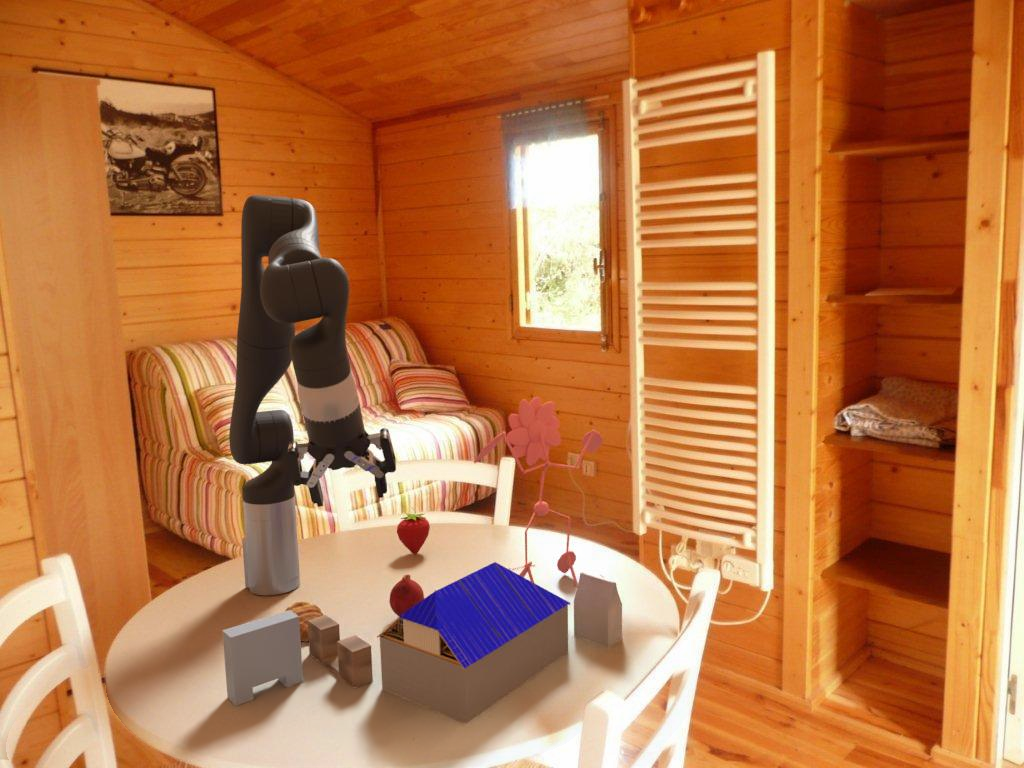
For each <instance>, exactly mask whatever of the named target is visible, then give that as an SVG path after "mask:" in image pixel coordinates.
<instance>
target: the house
mask: <svg viewBox="0 0 1024 768" xmlns="http://www.w3.org/2000/svg"><path fill="white" fill-rule="evenodd" d="M568 605H569V606H570V605H571V602H570V601H568V600H566V599H564V598H562V597H560V596H558V595H557V594H555V593H553V592H551V591H549V590H548V589H545V588H543V586H540V585H538V584H537V583H535V582H534V583H533V582H531V581H530V579H527V578H525V576H524V577H522V576H520V574H518V573H516V572H515V571H513V570H510V568H507V567H505V566H504V565H502V564H500V563H498V562H496V561H493V562H492V563H489V564H488V565H486V566H484V567H481V568H480V569H478V570H476V571H474V572H471V573H470V574H467V575H465V576H463V577H462V578H460V579H458V580H455V581H454V582H451V583H449V584H447V585H445V586H443V587H441V588H439V589H437V590H436V589H435V590H434V591H433V592H432V593H430V594H429V595H428V596H426V597H424V599H423V600H422V601H420V602H419V603H418V604H416V605H415V606H413V607H412V608H411V609H409V610H408V611H406V612H405V613H403V614H402V615H401V616H397V618H395V620H393V621H392V622H391V623H390V624H389V625H388V626H387V627H386V628H385V629H384V630H382V632H380V633H379V635H377V636H376V639H378V638H379V647H380V648H379V649H380V651H379V652H380V667H381V672H380V673H381V689H382V690H384V691H385V692H388V693H391V694H393V695H396V696H397V697H401V698H403V699H404V700H405V699H406V700H407V701H410V702H413V703H415V704H417V705H419V706H422V707H424V708H425V709H429V710H431V711H434V712H436V713H439V714H441V715H443V716H445V717H448V718H450V719H453V720H455V721H458V722H460V723H463V724H465V725H466V724H468V723H469V722H471V721H472V720H474V719H475V718H476V717H478V716H479V715H480V714H482V713H484V712H485V711H487V710H488V709H489V708H490V707H493V705H496V704H497V703H498V702H499V701H501V700H502V699H504V698H505V697H506V696H508V695H510V693H512V692H514V691H515V690H516V689H518V688H519V687H521V686H522V685H524V684H525V683H526V682H528V681H529V680H531V679H532V678H533V677H535V676H537V674H539V673H541V672H542V671H544V670H545V669H546V668H548V667H549V666H551V665H552V664H553V663H555V662H556V661H558V660H559V659H560V658H562V657H564V656H565V655H566V654H567V653H569V613H568V612H569V611H568V610H569V606H568ZM550 664H551V665H550Z"/></svg>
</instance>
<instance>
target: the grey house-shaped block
mask: <svg viewBox="0 0 1024 768" xmlns="http://www.w3.org/2000/svg"><path fill="white" fill-rule="evenodd" d="M577 583H578V585H577V588H576V591H575V595H574V598H573V635H574V636H575V635H576V637H578V638H580V637H581V639H582V640H586V641H588V640H589V642H592V643H594V644H597V645H599V646H602V647H604V648H607V649H609V648H610V647H612V646H614V645H615V644H618V643H619V642H620V641H622V640H623V603H622V600H621V598H620V594H619V591H618V587H617V582H615V581H611V580H610V579H609V580H608V579H606V578H603V577H602V578H601V577H599V576H595V575H592V574H588V573H585V572H580V574H579V578H578V582H577Z"/></svg>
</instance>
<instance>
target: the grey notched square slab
mask: <svg viewBox="0 0 1024 768" xmlns="http://www.w3.org/2000/svg"><path fill="white" fill-rule="evenodd" d="M284 611H285V610H284ZM284 611H283V612H278V613H275V614H272V615H269V616H268V615H267V616H265V617H262V618H259V619H255V620H252V621H249V622H246V623H242V624H239V625H236V626H233V627H229V628H226V629H222V643H223V656H224V668H225V681H226V692H227V695H226V696H227V699H228V700H230V702H231V703H232V704H233V705H234V706H235V707H237V706H239V705H242V704H245V703H248V702H250V701H253V700H254V691H253V690H254V688H256V687H259V686H261V685H264V684H266V683H270V682H273V681H275V680H278V681H279V682H280V683H281V684H283V686H285V688H289V687H292V686H294V685H297V684H299V683H303V682H304V676H303V659H302V644H301V643H302V642H301V640H300V624H299V616H298V615H296V614H295V613H294V612H292V611H291V610H288V611H285V612H284Z"/></svg>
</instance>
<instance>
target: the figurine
mask: <svg viewBox="0 0 1024 768" xmlns="http://www.w3.org/2000/svg"><path fill="white" fill-rule="evenodd" d="M555 411H556V403H555V402H554V401H546V402H545V403H543V404H542V399H541V397H539V396H535V397H533V399H532V400H530V402H529V401H528V400H527V399H526V398H524V399H521V400H520V402H519V405H518V414H517V413H510V414H509V415H508V425H509V427H510V429H511V430H510V431H509V432H508V433H507V432H506V431H501V433H499V434H498V435H496V436H495V437H494V438H493V439H492V440H490V441H489V442H488V443H487V444H486V445H485V446H484V447H483V449H482V450H481V451H480V452H479V453H478V455H477V457H476V458H475V460H474V461H473V463H474V464H476V463H478V462H480V460H483V458H485V456H487V455H488V454H489V453H490V452H491V451H493V449H494V448H495V447H496V446H497V445H498V444H499V443H500V442H501V440H502V439H503V440H504V441H505V442H506V444H507V445H506V446H507V447H508V449H509V450H510V452H511V456H512V458H513V459H514V461H515V463H516V464H517V466H518V468H519V470H520V472H521V473H522V475H525V474H527V473H530V472H533V471H536V470H538V469H541V468H543V467H544V468H543V471H542V472H541V473H542V474H541V478H540V479H541V481H540V488H539V497H538V501H537V502H536V503H535V504H534V506H533V514H532V516H531V518H530V520H529V522H528V524H527V526H526V527H525V528H526V529H525V530H524V550H525V551H524V552H525V553H524V555H525V556H524V557H525V561H524V562H525V563H524V565H523V569H522V568H521V567H522V566H519V567H514V568H513V570H516V568H517V569H522V571H520V573H519V575H520V576H522V577H524V578H525V577H526V575H527V574H528V577H529V581H531V582H533V583H535V581H534V578H533V574H532V570H531V567H534V566H535V565H536V564H533V562H532V561H531V560H530V561H529V562H528V530H529V528H530V525H531V524H532V522H533V521H534V518H535V516H536V515H537V516H539V517H544V516H546V515H547V514H548V513H549V512H550V513H552V514H555V515H558V516H560V517H562V518H567V519H568V520H567V521H568V522H567V533H566V535H567V536H566V551H565V552H564V553H562V554H561V555H560V557H559V559H558V560H557V563H556V565H557V570H558V571H560V572H561V573H563V574H566V573H568V572H569V570H570V572H571V575H572V576H571V577H572V579H573V582H574V586H575V585H576V586H578V583H579V582H578V579H577V576H576V574H575V570H574V567H573V566H574V564H575V562H576V560H577V555H576V554H575V552H574V551H573V550H569V546H570V532H571V530H570V529H571V516H568V515H565V514H563V513H560V512H557V511H555V510H552V509H550V508H549V504H548V503H547V502H546V501H542V499H543V498H542V497H543V492H544V491H543V490H544V485H545V484H544V482H545V479H546V478H545V477H546V473H547V470H548V468H551V466H552V467H553V466H554V467H557V468H558V467H559V468H564V469H571V470H575V471H576V470H577V468H578V467H579V465H580V463H581V462H582V461H581V460H582V459H583V457H584V455H585V453H586V451H587V452H588V453H591V454H593V453H594V452H596V451H597V450H598V449H600V447H602V444H603V435H602V434H601V433H600V432H599V431H597V430H595V429H591V431H588V432H586V433H585V435H584V436H583V437H582V439H581V440H582V441H581V443H582V446H583V449H582V451H581V453H580V455H579V457H578V458H577V461H576V462H575V465H567V464H562V463H556V462H551V461H550V459H549V458H550V457H549V454H550V446H552V447H558V446H560V444H561V443H562V437H561V434H560V431H558V428H559V427H560V425H561V422H560V421H561V420H559V419H558V418H557V417H556V416H555V415H554V414H555ZM512 445H513V446H512ZM524 456H525V461H526V464H527V465H528V466H529V467H530V468H527V469H524V468H523V466H522V464H521V461H520V460H519V458H521V457H524ZM539 459H540V460H542V461H545V462H543V463H541V464H537V465H535V464H536V463H537V462H538V461H539ZM534 465H535V466H534ZM531 466H532V467H531ZM535 567H536V566H535ZM511 569H512V568H511V567H510V568H509V570H511ZM511 571H512V570H511ZM599 576H601V577H602V579H605V576H603V575H602V574H599Z"/></svg>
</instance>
